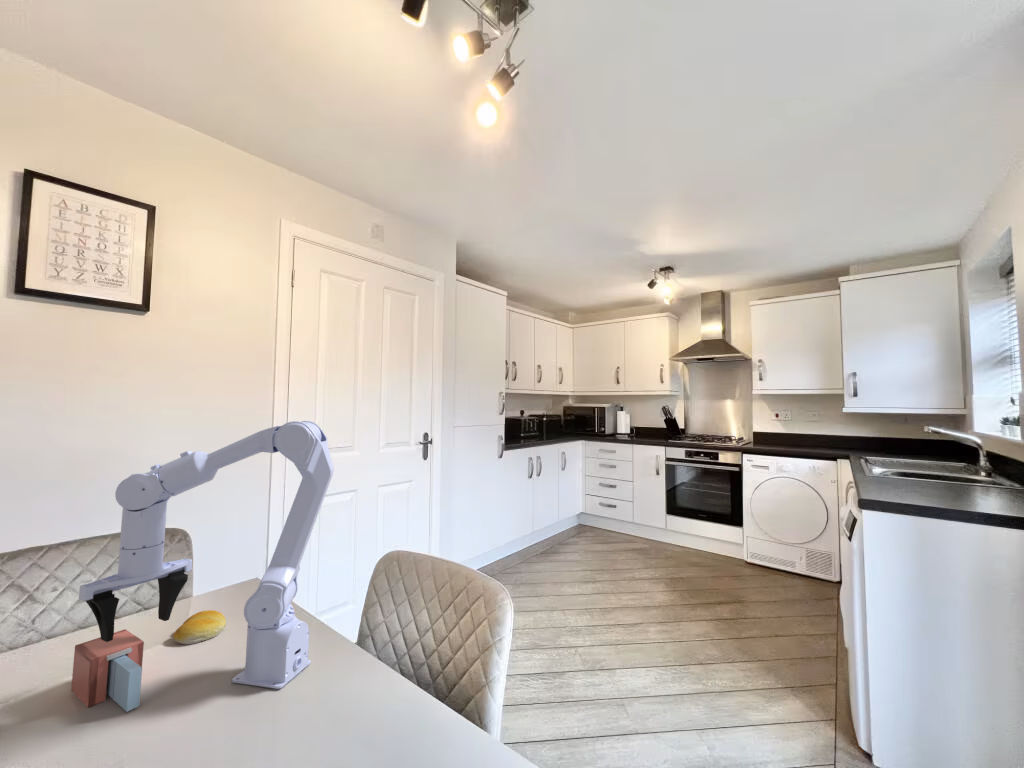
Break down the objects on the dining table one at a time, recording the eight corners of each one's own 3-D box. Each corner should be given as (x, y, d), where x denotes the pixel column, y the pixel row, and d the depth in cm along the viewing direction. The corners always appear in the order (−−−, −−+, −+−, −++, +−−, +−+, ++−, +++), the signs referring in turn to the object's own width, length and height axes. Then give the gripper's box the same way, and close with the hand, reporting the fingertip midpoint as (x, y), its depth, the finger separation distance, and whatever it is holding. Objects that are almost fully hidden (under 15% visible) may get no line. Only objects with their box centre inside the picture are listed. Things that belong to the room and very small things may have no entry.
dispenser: (141, 686, 70) (145, 642, 71) (89, 708, 65) (93, 660, 66) (122, 670, 75) (125, 629, 75) (71, 690, 69) (74, 645, 70)
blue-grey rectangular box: (139, 705, 65) (142, 667, 66) (126, 711, 64) (129, 672, 64) (108, 678, 72) (111, 644, 72) (95, 683, 70) (98, 648, 71)
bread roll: (166, 649, 82) (167, 627, 83) (187, 627, 91) (189, 607, 91) (214, 643, 84) (216, 622, 85) (231, 622, 93) (232, 603, 93)
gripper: (178, 531, 80) (174, 606, 79) (73, 553, 67) (65, 643, 66) (200, 536, 77) (195, 614, 75) (93, 560, 64) (86, 655, 63)
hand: (136, 629), depth 70 cm, fingers open, 7 cm apart
